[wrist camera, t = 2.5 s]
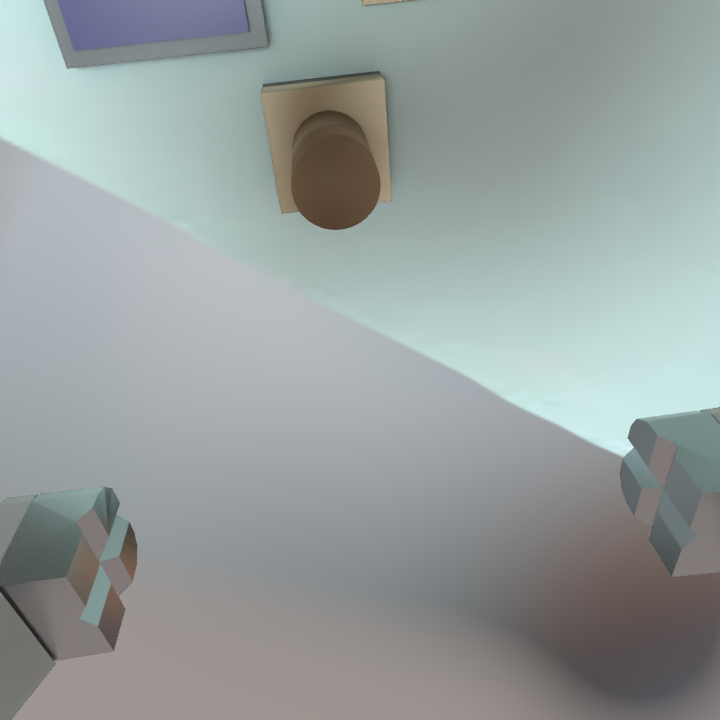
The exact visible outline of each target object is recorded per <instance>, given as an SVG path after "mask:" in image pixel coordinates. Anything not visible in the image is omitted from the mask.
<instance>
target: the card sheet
mask: <svg viewBox="0 0 720 720" xmlns="http://www.w3.org/2000/svg"><path fill="white" fill-rule="evenodd" d="M398 1H408V0H362V5H371V4H380V3H389V2H398Z"/></svg>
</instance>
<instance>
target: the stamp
mask: <svg viewBox="0 0 720 720" xmlns="http://www.w3.org/2000/svg"><path fill="white" fill-rule="evenodd" d="M261 99H262V104H263V110H264V116H265V122H266V127H267V133H268V139H269V145H270V150H271V156H272V162H273V168H274V173H275V179H276V185H277V191H278V196H279V202H280V208H281V214H283V213H292V212H300V213H301V214H302V215H303V216H304V217H305V218H306V219H307V220H308V221H310V222H311V223H313V224H315V225H317V226H319V227H322V228H325V229H332V230H340V229H346V228H349V227H352V226H355V225H357V224H358V223H360V222H362V221H363V220H364V219H365V218H366V217H367V216H368V215H369V214H370V213H371V212H372V210H373V209H374V207H375V206H376V204H377V202H386V201H392V199H391V181H390V164H389V147H388V129H387V112H386V94H385V79H384V78H383V77H382V75H381V74H380V72H379V71H376V72H367V73H358V74H349V75H341V76H332V77H323V78H314V79H305V80H296V81H287V82H278V83H269V84H263V87H262V91H261Z"/></svg>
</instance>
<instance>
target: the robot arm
mask: <svg viewBox="0 0 720 720" xmlns="http://www.w3.org/2000/svg"><path fill="white" fill-rule="evenodd" d="M628 439H629V441H630V442H631V443H632V445H633V446H634V448H633V449H632V450H631V451H630V452H629V453H628V454H627V455H626V456H625V457H624V458H623V459H622V464H621V470H620V480H621V487H622V492H623V495H624V497H625V500H626V503H627V505H628V506H629V508H630V510H631V511H632V513H633V515H634V516H635V517H637V518H638V519H640V520H641V521H643V522H644V523H646V524H648V525H649V526H651V531H650V536H649V541H650V543H651V544H652V546H653V548H654V549H655V551H656V553H657V554H658V556H659V557H660V559H661V561H662V562H663V564H664V565H665V567H666V569H667V570H668V572H669V573H670V575H671V577H675V576H685V575H694V574H704V573H713V572H720V407H719V408H712V409H705V410H700V411H691V412H684V413H676V414H669V415H662V416H654V417H647V418H640V419H636V420H635V421H634V423H633V424H632V425H631V427H630V431H629V435H628ZM119 504H120V502H119V500H118V498H117V496H116V494H115V493H114V491H113V489H112V488H108V487H99V488H89V489H80V490H70V491H60V492H50V493H41V494H38V495H28V496H18V497H8V498H6V499H5V500H3V501H2V502H1V503H0V720H12V718H13V717H14V716H15V715H16V713H17V712H18V711H19V710H20V708H21V707H22V706H23V705H24V703H25V702H26V701H27V700H28V698H29V697H30V696H31V695H32V693H33V692H34V691H35V690H36V688H37V687H38V686H39V684H40V683H41V682H42V681H43V680H44V678H45V677H46V676H47V674H48V673H49V672H50V671H51V669H52V668H53V667H54V666H55V662H54V661H57V660H64V659H69V658H75V657H82V656H88V655H95V654H101V653H106V652H112V651H114V649H115V645H116V641H117V637H118V634H119V630H120V627H121V623H122V620H123V616H124V612H125V607H124V605H123V604H122V602H121V600H120V598H119V596H120V595H121V594H122V593H123V592H124V591H125V590H126V588H127V587H128V586H129V585H130V584H131V583H132V582H133V578H134V574H135V570H136V566H137V542H136V538H135V533H134V531H133V529H132V526H131V524H130V522H129V521H127V520H125V519H123V518H122V517H120V516H118V515H117V511H118V508H119Z"/></svg>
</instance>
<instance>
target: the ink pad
mask: <svg viewBox="0 0 720 720" xmlns="http://www.w3.org/2000/svg"><path fill="white" fill-rule="evenodd" d="M43 1H44V3H45V6H46V9H47V12H48V15H49V18H50V21H51V24H52V26H53V29H54V32H55V35H56V38H57V41H58V44H59V47H60V50H61V52H62V55H63V58H64V61H65V64H66V67H67V69H68V68H77V67H86V66H95V65H104V64H113V63H122V62H131V61H140V60H150V59H159V58H168V57H177V56H186V55H195V54H204V53H213V52H222V51H231V50H241V49H250V48H259V47H268V44H269V43H268V36H267V30H266V24H265V17H264V11H263V5H262V0H43Z"/></svg>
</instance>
